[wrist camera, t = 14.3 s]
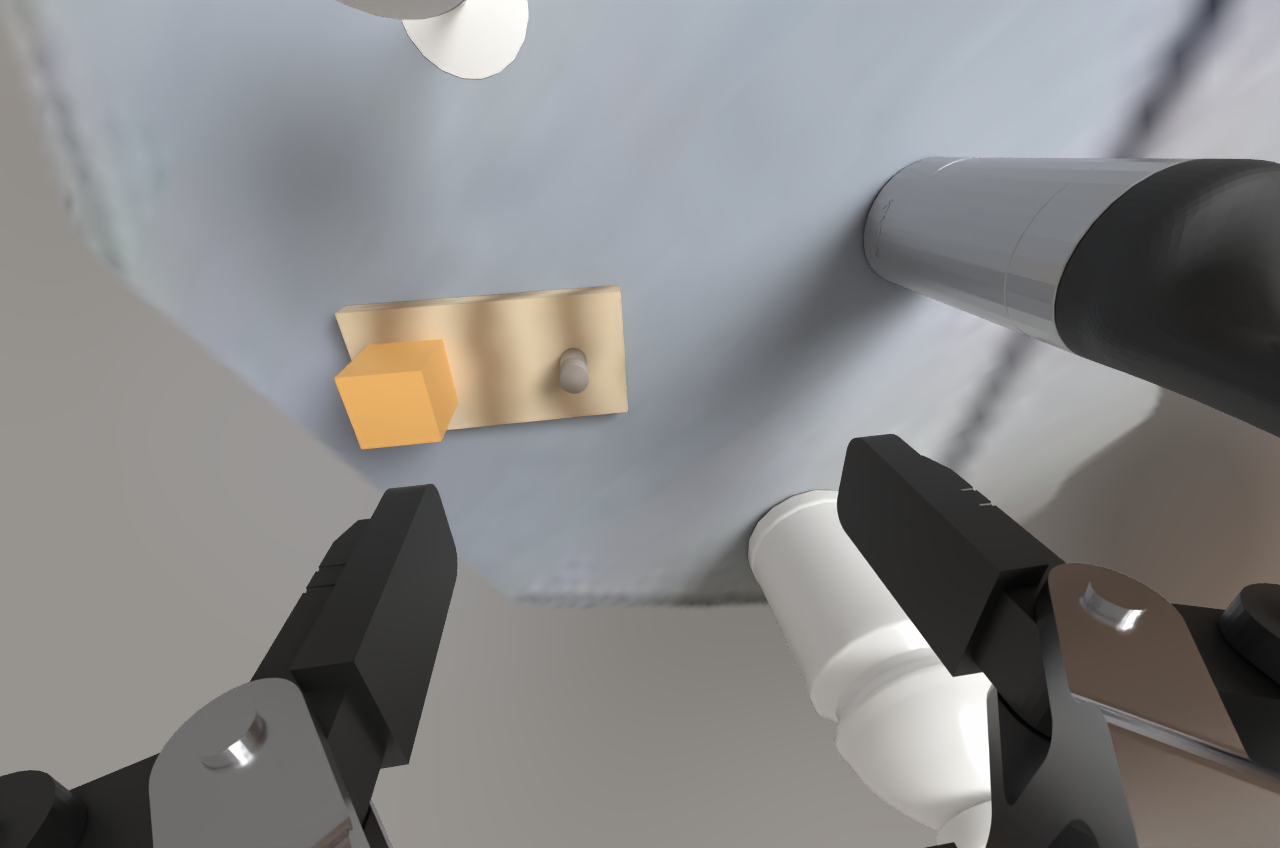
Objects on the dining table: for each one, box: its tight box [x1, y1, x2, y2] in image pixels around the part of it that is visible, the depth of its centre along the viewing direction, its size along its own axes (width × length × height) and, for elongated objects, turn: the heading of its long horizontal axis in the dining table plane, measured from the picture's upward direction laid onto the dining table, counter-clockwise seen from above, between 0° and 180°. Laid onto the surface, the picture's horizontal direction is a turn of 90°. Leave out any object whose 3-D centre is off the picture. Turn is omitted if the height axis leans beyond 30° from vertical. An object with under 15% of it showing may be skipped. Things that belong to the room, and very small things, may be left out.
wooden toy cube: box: [334, 339, 458, 449], centre depth 34 cm, size 5×5×6 cm
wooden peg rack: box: [335, 285, 628, 430], centre depth 36 cm, size 20×10×6 cm, turn 92°
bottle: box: [748, 490, 992, 848], centre depth 41 cm, size 14×14×28 cm
